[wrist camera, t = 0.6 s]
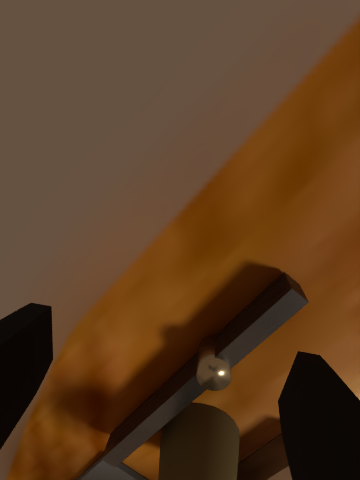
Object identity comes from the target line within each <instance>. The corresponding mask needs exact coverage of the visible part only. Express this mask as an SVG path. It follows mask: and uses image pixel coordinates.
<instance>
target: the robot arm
mask: <svg viewBox="0 0 360 480" xmlns="http://www.w3.org/2000/svg"><path fill="white" fill-rule="evenodd" d="M52 360H53V343H52V311H51V306H46V305H40V304H35V303H30V304H28V305H26V306H24V307H22V308H20V309H19V310H17V311H15V312H13V313H12V314H10V315H8V316H6V317H5V318H3V319H1V320H0V449H1V448H2V446H3V445H4V443H5V441H6V440H7V438H8V437H9V435H10V434H11V432H12V431H13V429H14V428H15V426H16V424H17V422H18V421H19V420H20V418H21V416H22V415H23V413H24V412H25V410H26V408H27V407H28V406H29V404H30V402H31V401H32V399H33V398H34V396H35V394H36V393H37V391H38V389H39V387H40V385H41V383H42V381H43V379H44V377H45V375H46V373H47V371H48V369H49V367H50V364H51V362H52ZM278 405H279V414H280V423H281V430H282V437H283V443H284V447H285V452H286V456H287V460H288V464H289V469H290V473H291V477H292V480H360V400H359V399H358V398H357V397H356V396H355V394H354V393H353V392H352V391H351V390H350V389H349V388H348V386H347V385H346V384H345V383H344V382H343V381H342V379H341V378H340V377H339V376H338V375H337V374H336V373H335V371H334V370H333V369H332V368H331V367H330V366H329V365H328V364H327V362H326V361H325V360H324V359H323V358H322V357H321V356H320V355H316V354H311V353H305V352H300V351H298V353H297V355H296V358H295V360H294V363H293V365H292V368H291V370H290V373H289V375H288V378H287V380H286V383H285V385H284V388H283V390H282V393H281V395H280V398H279V400H278Z"/></svg>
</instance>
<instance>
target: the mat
mask: <svg viewBox="0 0 360 480" xmlns="http://www.w3.org/2000/svg"><path fill="white" fill-rule="evenodd" d="M76 480H147V479H146V478H144V477H143V476H141V475H140V474H138V473H137V472H135V471H134V470H132V469H131V468H129V467H127V466H126V465H124V464H123V463H120V464H118V465H117V466H116V467H115V468H114V467H112V466H111V465H109V464H108V463H106V462H105V461H103V460H102V457H101V458H100V459H99V460H97V461H96V462H95V463H94V464H93V465H92V466H91V467H90V468H89V469H87V470H86V471H85V472H84V473H83V474H82V475H81V476H80V477H79V478H77V479H76Z"/></svg>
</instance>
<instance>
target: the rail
mask: <svg viewBox="0 0 360 480" xmlns="http://www.w3.org/2000/svg"><path fill="white" fill-rule="evenodd" d="M237 480H292V477H291V473H290V469H289V464H288V460H287V456H286V452H285V447H284V443H283V437H282V434H281V435H279V436H278V437H276V438H275V439H273V440H272V441H270V442H269V443H268V444H266V445H265V446H263V447H262V448H260V449H259V450H257V451H256V452H254V453H253V454H252V455H250V456H249V457H247V458H246V459H244V460H243V461H241V462H240V463H238V470H237Z"/></svg>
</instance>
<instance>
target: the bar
mask: <svg viewBox="0 0 360 480" xmlns="http://www.w3.org/2000/svg"><path fill="white" fill-rule="evenodd" d="M307 303H308V300H307V298H306V296H305V294H304V292H303V290H302V288H301V286H300V285H299V284H298V283H297V282H296V281H295V280H293V279H292V278H291V277H290V276H289V275H287V274H286V273H285V272H284V273H283V274H282V275H281V276H280V277H279V278H278V279H276V280H275V281H274V282H273V283H272V284H271V285H270V286H269V287H268V288H267V289H266V290H265V291H264V292H262V293H261V294H260V295H259V296H258V297H257V298H256V299H255V300H254V301H253V302H252V303H251V304H250V305H249V306H247V307H246V308H245V309H244V310H243V311H242V312H241V313H240V314H239V315H238V316H237V317H236V318H235V319H233V320H232V321H231V322H230V323H229V324H228V325H227V326H226V327H225V328H224V329H223V330H222V331H221V332H220V333H218V334H217V335H216V336H211V337H207V338H205V339H204V340H203V341H202V342H201V343H200V346H199V352H198V353H197V354H196V355H195V356H194V357H193V358H192V359H190V360H189V361H188V362H187V363H186V364H185V365H184V366H183V367H182V368H181V369H180V370H179V371H178V372H177V373H175V374H174V375H173V376H172V377H171V378H170V379H169V380H168V381H167V382H166V383H165V384H164V385H163V386H161V387H160V388H159V389H158V390H157V391H156V392H155V393H154V394H153V395H152V396H151V397H150V398H149V399H148V400H146V401H145V402H144V403H143V404H142V405H141V406H140V407H139V408H138V409H137V410H136V411H135V412H134V413H132V414H131V415H130V416H129V417H128V418H127V419H126V420H125V421H124V422H123V423H122V424H121V425H120V426H118V427H117V428H116V429H115V430H114V431H113V432H112V433H111V434H110V437H109V439H108V442H107V445H106V448H105V450H104V453H103V456H102V460H103V461H105V462H106V463H108V464H109V465H111V466H112V467H114V468H115V467H116V466H117V465H118V464H120V463H121V462H122V461H123V460H124V459H125V458H127V457H128V456H129V455H130V454H131V453H132V452H134V451H135V450H136V449H137V448H138V447H140V446H141V445H142V444H143V443H144V442H145V441H147V440H148V439H149V438H150V437H151V436H152V435H154V434H155V433H156V432H157V431H158V430H159V429H161V428H162V427H163V426H164V425H165V424H166V423H168V422H169V421H170V420H171V419H172V418H174V417H175V416H176V415H177V414H178V413H179V412H181V411H182V410H183V409H184V408H185V407H186V406H188V405H189V404H190V403H191V402H192V401H193V400H195V399H196V398H197V397H198V396H199V395H201V394H202V393H203V392H204V391H205V390H206V389H208V390H212V391H218V390H222V389H224V388H226V387H227V386H228V385H229V383H230V380H231V372H230V369H231V368H232V367H233V366H235V365H236V364H237V363H238V362H239V361H240V360H242V359H243V358H244V357H245V356H246V355H247V354H249V353H250V352H251V351H252V350H253V349H254V348H256V347H257V346H258V345H259V344H260V343H261V342H263V341H264V340H265V339H266V338H267V337H269V336H270V335H271V334H272V333H273V332H274V331H276V330H277V329H278V328H279V327H280V326H281V325H283V324H284V323H285V322H286V321H287V320H288V319H290V318H291V317H292V316H293V315H294V314H295V313H297V312H298V311H299V310H300V309H301V308H303V307H304V306H305V305H306V304H307Z"/></svg>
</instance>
